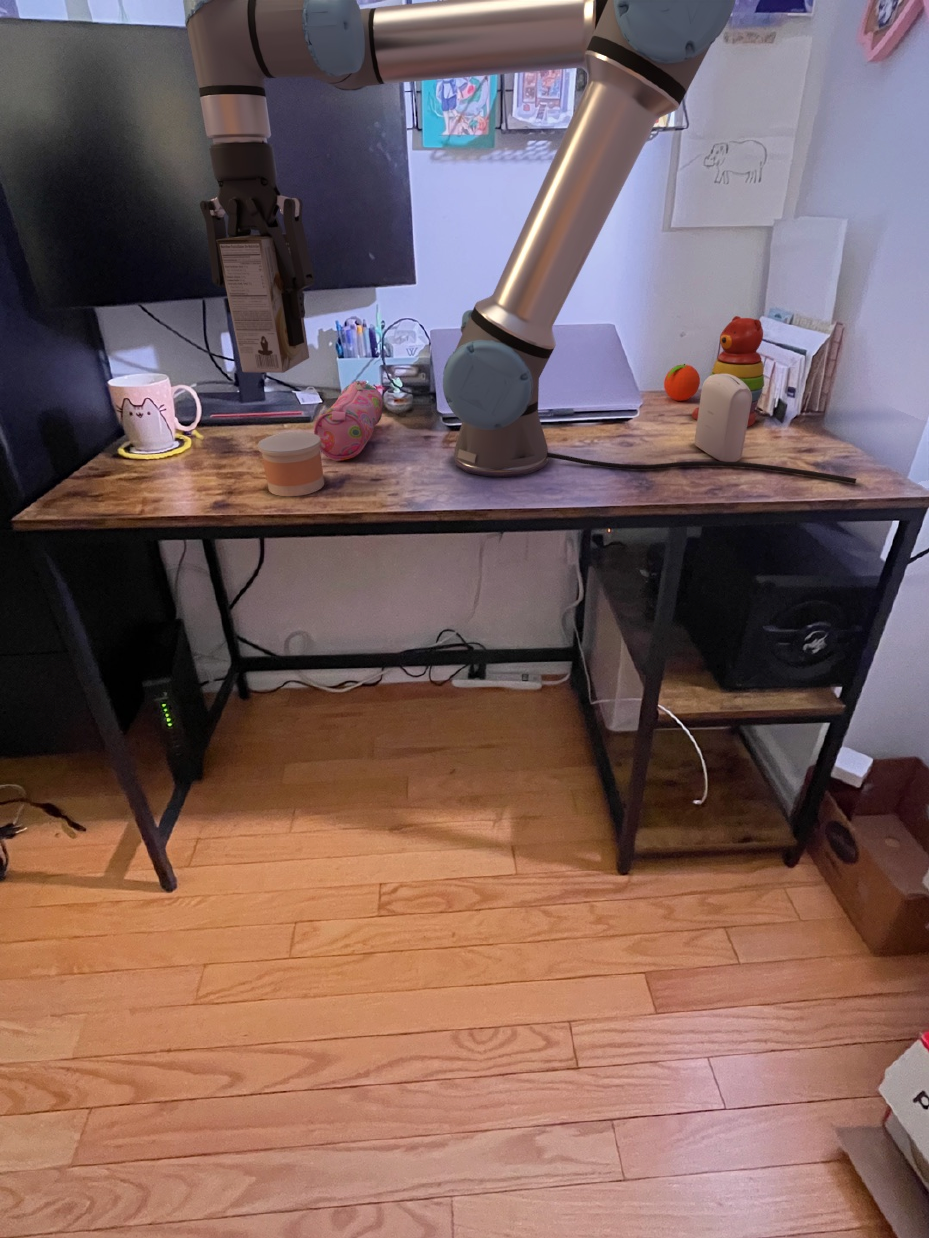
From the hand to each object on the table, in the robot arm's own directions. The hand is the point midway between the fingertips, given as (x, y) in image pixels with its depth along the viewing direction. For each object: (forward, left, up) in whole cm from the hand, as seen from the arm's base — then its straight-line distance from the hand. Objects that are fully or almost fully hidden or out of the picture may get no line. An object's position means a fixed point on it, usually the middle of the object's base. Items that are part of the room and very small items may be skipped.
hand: (273, 343), depth 97 cm
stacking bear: (-61, -51, -21) cm, 82 cm away
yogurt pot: (0, 0, -21) cm, 21 cm away
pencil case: (+1, -21, -21) cm, 30 cm away
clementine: (-51, -63, -21) cm, 84 cm away
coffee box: (0, 0, -3) cm, 3 cm away
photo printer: (-60, -32, -21) cm, 71 cm away
